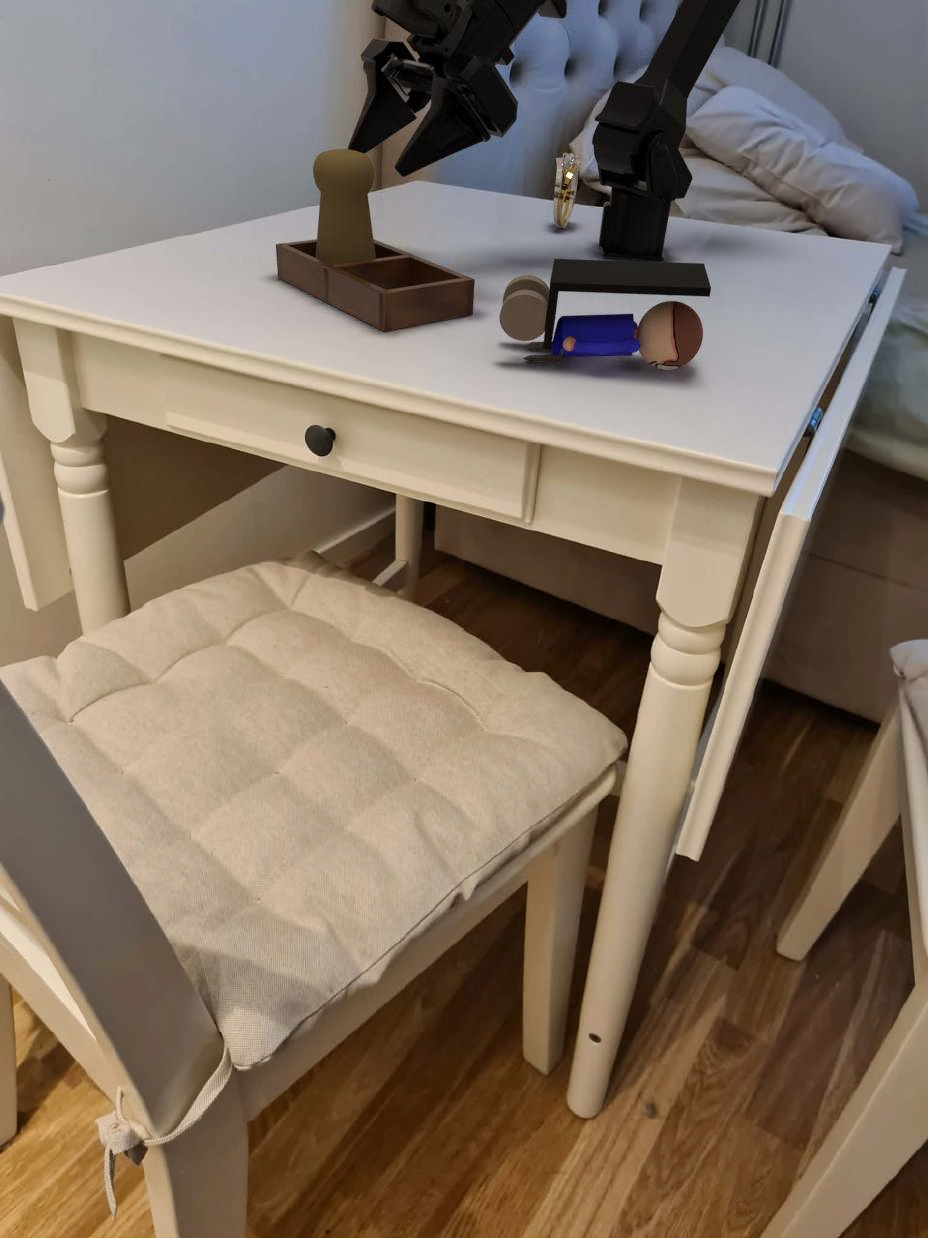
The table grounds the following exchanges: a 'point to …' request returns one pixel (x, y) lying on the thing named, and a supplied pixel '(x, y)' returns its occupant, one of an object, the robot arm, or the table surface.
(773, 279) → the table surface
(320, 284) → the frame
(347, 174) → the cork
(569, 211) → the ring
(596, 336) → the figurine character
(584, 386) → the table surface
